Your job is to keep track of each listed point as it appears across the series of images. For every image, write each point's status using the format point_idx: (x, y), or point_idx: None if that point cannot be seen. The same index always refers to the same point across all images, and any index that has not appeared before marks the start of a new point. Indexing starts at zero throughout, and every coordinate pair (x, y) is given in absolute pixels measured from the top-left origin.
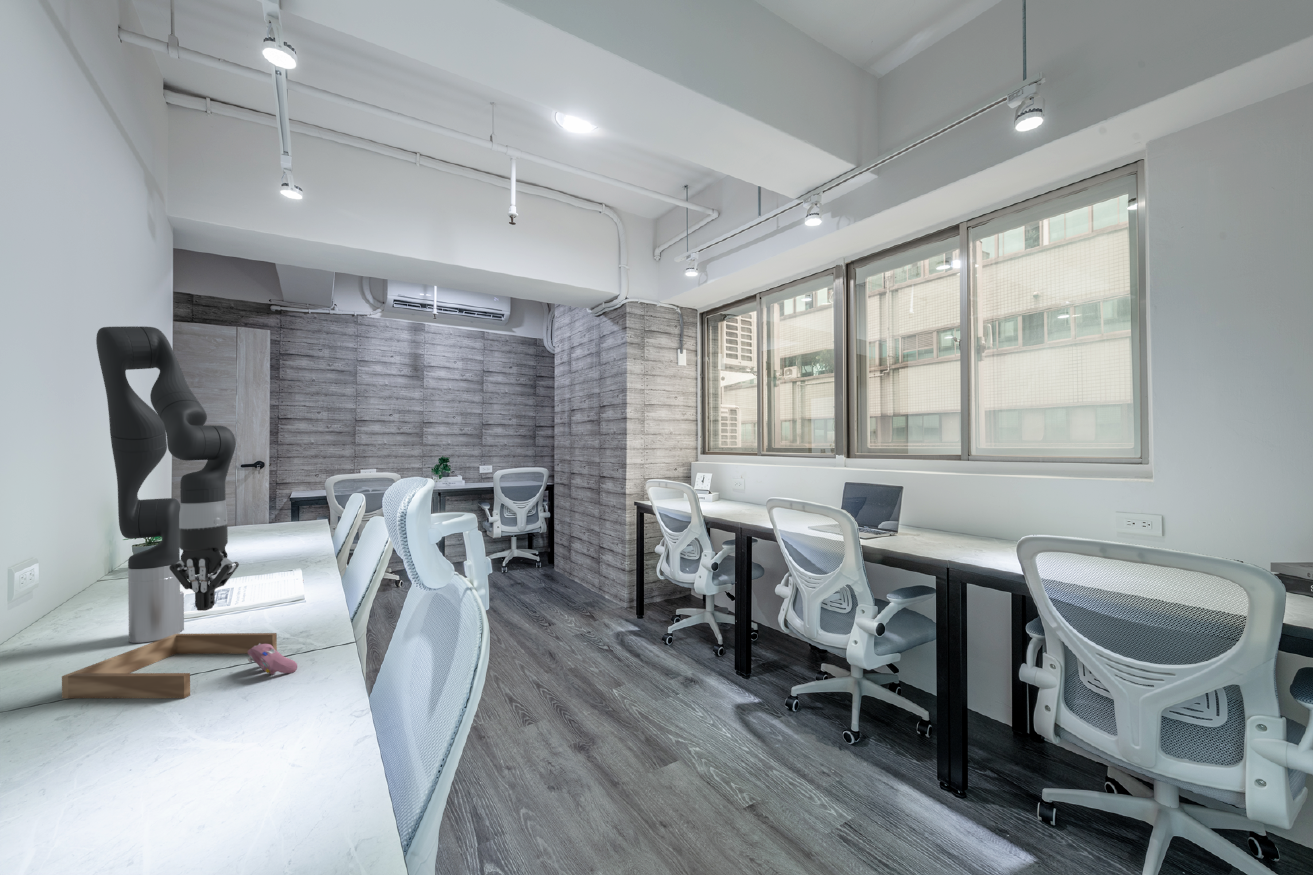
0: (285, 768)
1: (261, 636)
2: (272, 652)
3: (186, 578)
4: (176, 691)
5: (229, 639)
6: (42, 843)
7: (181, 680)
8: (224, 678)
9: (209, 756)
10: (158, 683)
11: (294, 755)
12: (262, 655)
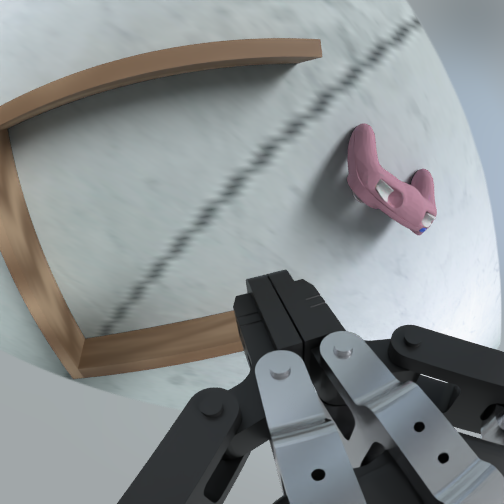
0: (468, 336)
1: (281, 57)
2: (432, 220)
3: (224, 491)
4: None
5: (155, 73)
6: None
7: None
8: (309, 221)
9: None
10: None
11: (470, 325)
12: (418, 231)
